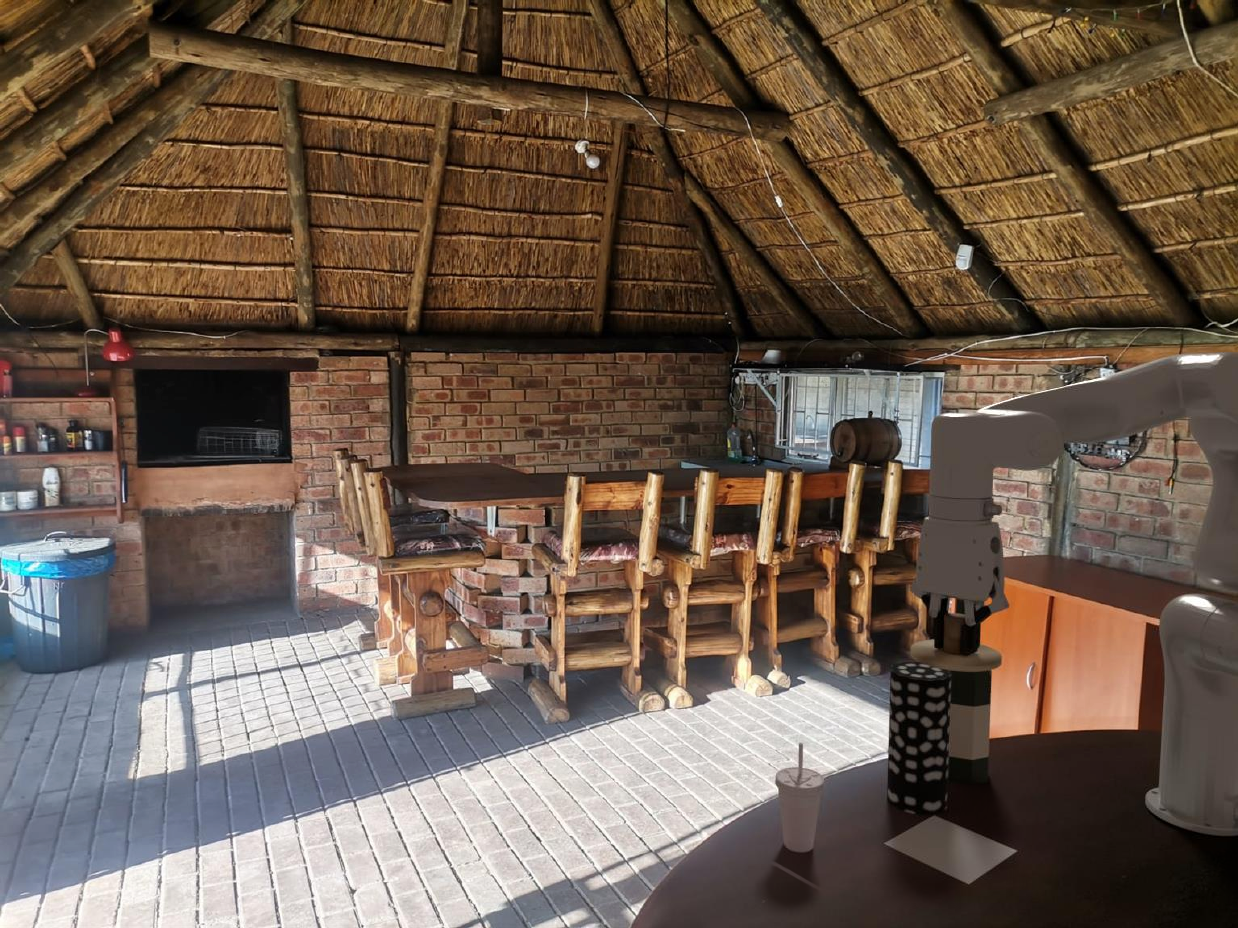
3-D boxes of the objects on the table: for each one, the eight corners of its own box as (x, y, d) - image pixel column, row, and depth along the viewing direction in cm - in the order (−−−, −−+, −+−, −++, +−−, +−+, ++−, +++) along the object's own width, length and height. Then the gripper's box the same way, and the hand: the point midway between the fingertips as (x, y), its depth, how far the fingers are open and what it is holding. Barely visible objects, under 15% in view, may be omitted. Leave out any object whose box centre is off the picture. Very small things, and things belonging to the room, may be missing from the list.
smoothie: (825, 839, 116) (827, 739, 115) (820, 863, 110) (822, 758, 109) (778, 831, 119) (779, 732, 117) (770, 855, 112) (772, 751, 111)
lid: (1017, 659, 111) (1019, 617, 110) (973, 677, 104) (975, 633, 104) (939, 639, 119) (940, 601, 119) (893, 656, 113) (894, 614, 112)
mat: (1017, 853, 113) (1017, 850, 113) (968, 886, 105) (968, 883, 105) (933, 817, 122) (933, 815, 122) (883, 846, 115) (884, 843, 115)
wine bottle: (998, 786, 132) (1006, 593, 129) (943, 785, 132) (950, 593, 129) (977, 762, 140) (984, 581, 137) (925, 762, 140) (931, 581, 137)
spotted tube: (940, 822, 121) (944, 684, 119) (880, 807, 125) (883, 673, 123) (952, 798, 128) (956, 667, 126) (895, 785, 132) (898, 658, 130)
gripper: (1038, 513, 106) (1032, 659, 108) (918, 500, 119) (915, 631, 120) (1008, 520, 101) (1002, 672, 103) (887, 505, 114) (884, 641, 116)
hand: (955, 648), depth 112 cm, fingers closed on lid, 3 cm apart
